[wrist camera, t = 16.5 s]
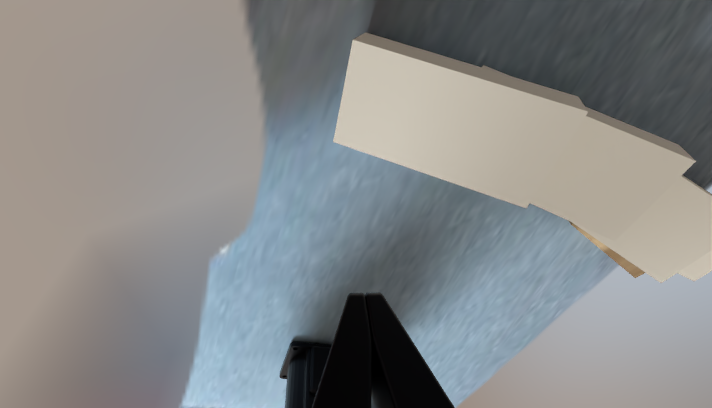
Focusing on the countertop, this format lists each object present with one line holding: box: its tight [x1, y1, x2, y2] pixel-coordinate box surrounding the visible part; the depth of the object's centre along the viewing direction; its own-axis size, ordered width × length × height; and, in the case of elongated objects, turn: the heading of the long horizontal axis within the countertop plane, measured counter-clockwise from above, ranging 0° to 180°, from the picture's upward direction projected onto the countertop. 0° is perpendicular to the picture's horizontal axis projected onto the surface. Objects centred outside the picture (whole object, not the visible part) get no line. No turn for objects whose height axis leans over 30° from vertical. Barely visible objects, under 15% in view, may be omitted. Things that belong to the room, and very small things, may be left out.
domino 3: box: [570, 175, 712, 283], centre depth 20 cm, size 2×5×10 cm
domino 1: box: [333, 32, 588, 208], centre depth 17 cm, size 2×5×10 cm
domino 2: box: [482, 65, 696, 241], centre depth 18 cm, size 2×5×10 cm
